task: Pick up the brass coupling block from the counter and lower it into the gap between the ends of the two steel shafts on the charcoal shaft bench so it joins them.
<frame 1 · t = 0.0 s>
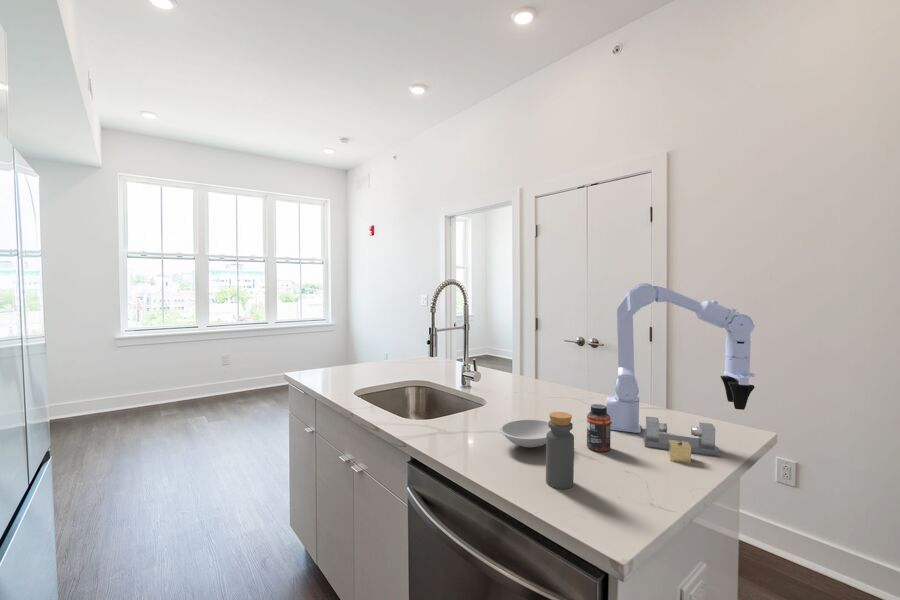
hand: (735, 405, 116), 10 cm above the worktop, tool pointing down, fingers open, 7 cm apart
bottle: (559, 483, 91), on the worktop
dish: (529, 447, 112), on the worktop
supplement bottle: (598, 448, 111), on the worktop
shaft bench: (678, 446, 113), on the worktop
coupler: (679, 459, 104), on the worktop
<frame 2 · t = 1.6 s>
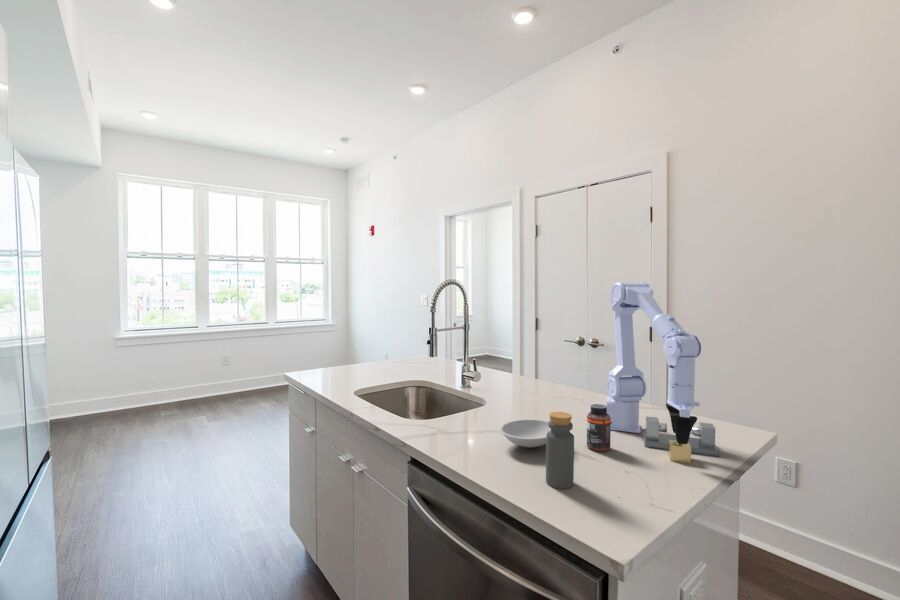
hand: (679, 438, 104), 5 cm above the worktop, tool pointing down, fingers open, 7 cm apart
nothing on the worktop moved.
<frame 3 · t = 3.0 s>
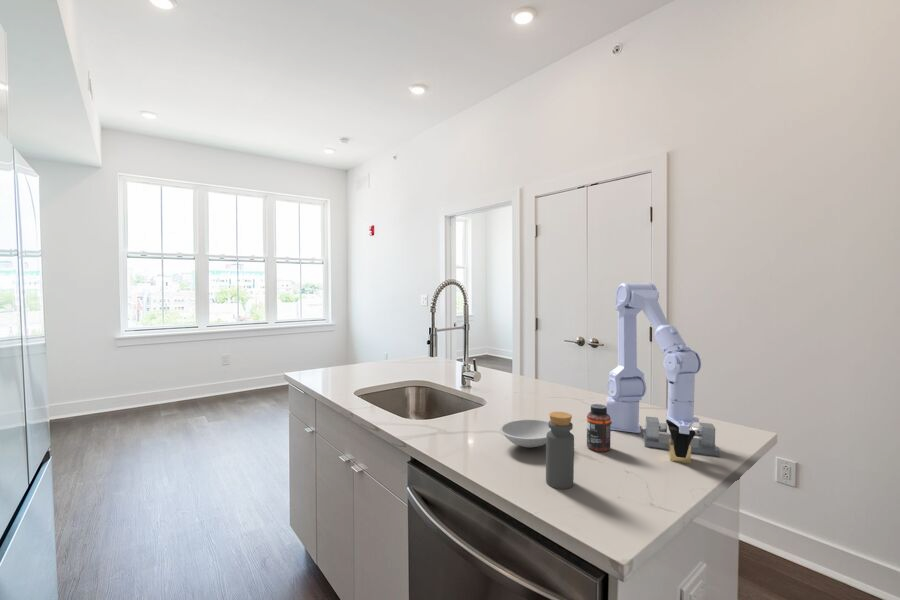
hand: (679, 453, 104), 1 cm above the worktop, tool pointing down, fingers closed on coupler, 4 cm apart
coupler: (679, 459, 104), on the worktop, touching gripper
everything else where it was.
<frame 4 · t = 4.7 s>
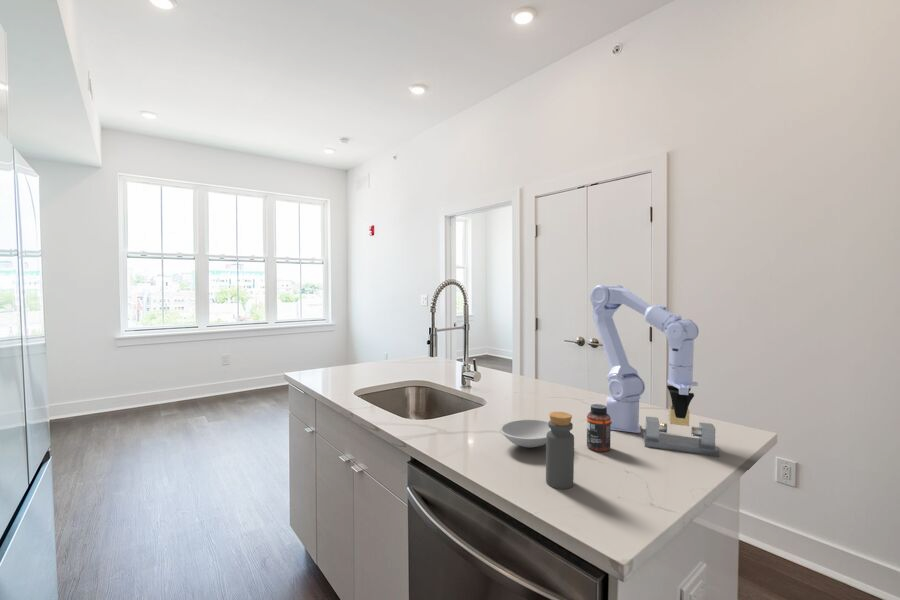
hand: (679, 415, 112), 8 cm above the worktop, tool pointing down, fingers closed on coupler, 4 cm apart
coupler: (678, 422, 112), point 6 cm above the worktop, touching gripper
everything else where it was.
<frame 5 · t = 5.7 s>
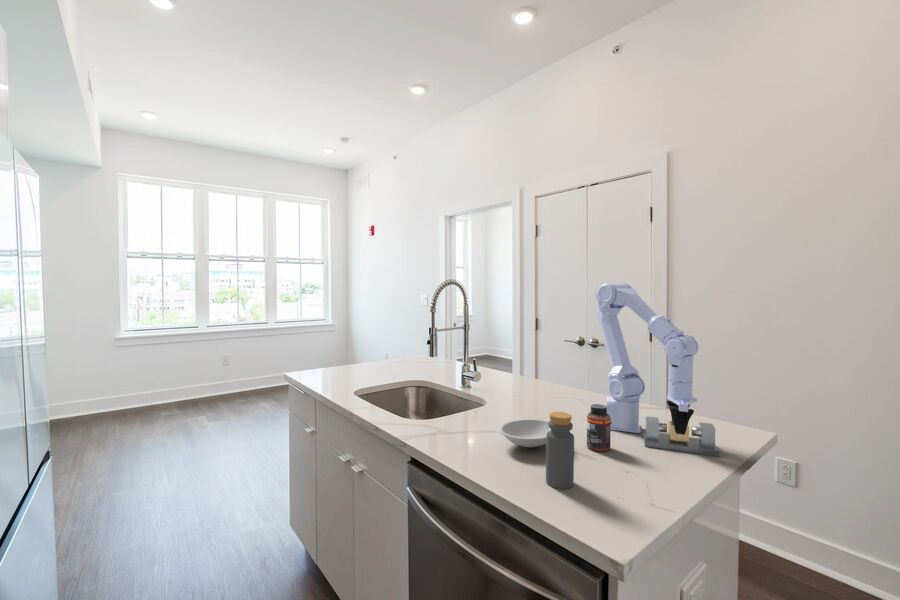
hand: (679, 431, 113), 4 cm above the worktop, tool pointing down, fingers closed on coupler, 4 cm apart
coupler: (678, 438, 113), point 2 cm above the worktop, touching gripper
everything else where it was.
when the fingers open (4 cm above the worktop, at t = 6.6 s): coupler stays where it is, resting on shaft bench.
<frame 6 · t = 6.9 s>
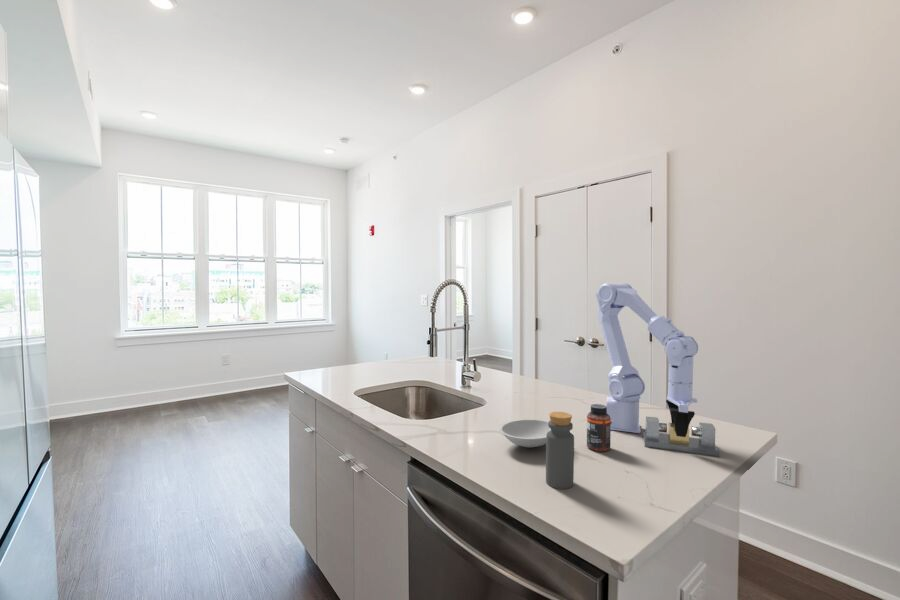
hand: (678, 431, 113), 4 cm above the worktop, tool pointing down, fingers open, 7 cm apart
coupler: (678, 440, 113), point 1 cm above the worktop, touching shaft bench
everything else where it was.
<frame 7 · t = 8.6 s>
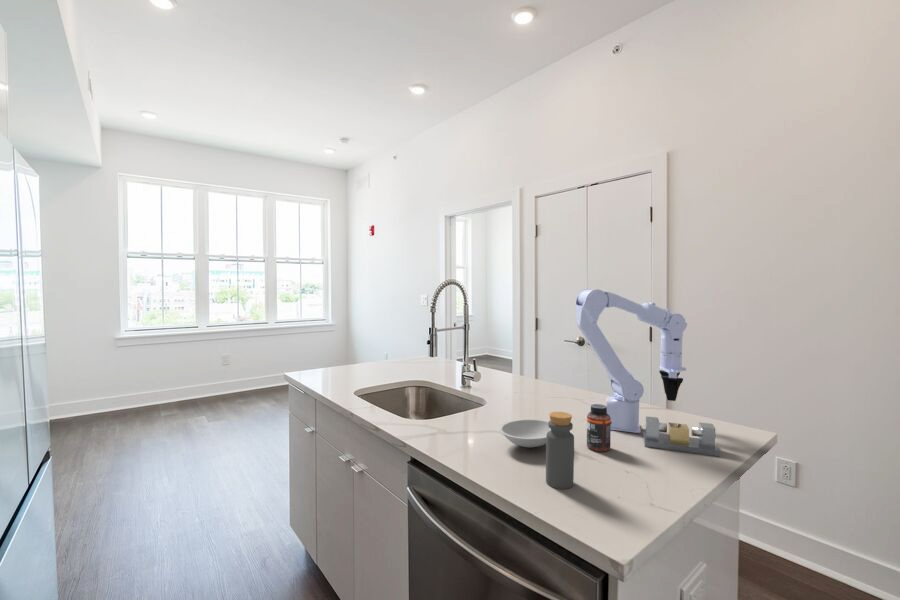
hand: (670, 397, 127), 9 cm above the worktop, tool pointing down, fingers open, 7 cm apart
nothing on the worktop moved.
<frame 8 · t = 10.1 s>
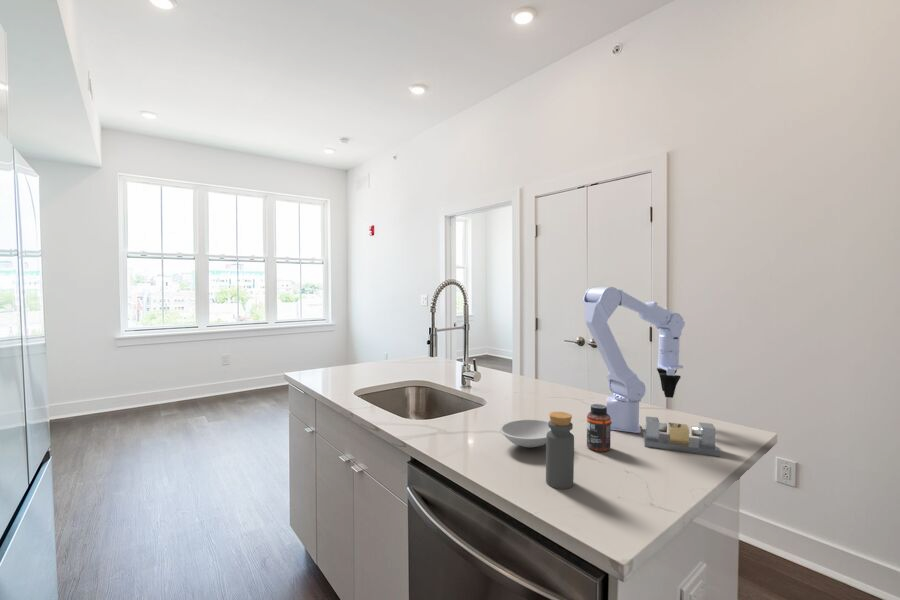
hand: (667, 394, 130), 9 cm above the worktop, tool pointing down, fingers open, 7 cm apart
nothing on the worktop moved.
at the end: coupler 0.1 cm off-centre on the shaft bench, point 1.5 cm above the shaft bench's base; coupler tilted 0°; the gripper is holding nothing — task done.
